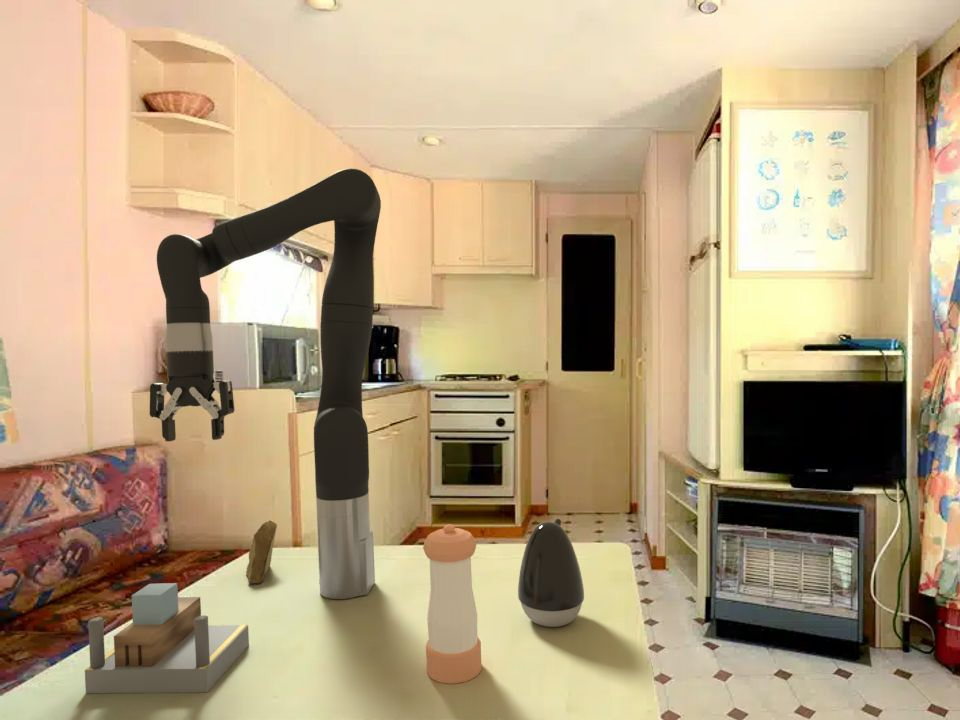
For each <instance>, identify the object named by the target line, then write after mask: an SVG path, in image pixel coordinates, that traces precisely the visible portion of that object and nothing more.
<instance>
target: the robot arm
mask: <svg viewBox="0 0 960 720" xmlns="http://www.w3.org/2000/svg"><path fill="white" fill-rule="evenodd" d="M381 203H382V201H381V196H380V194H379V191H378V188H377V186H376V184H375V182H374V180H373V178H372V177H371V176H370V175H369V174H367V172H365V171H364V170H361V169H358V168H353V167H351V168H344V169H342V170H338V171H335V173H333V174H330V175H328V176H327V177H325V178H323V179H322V180H320V181H317V183H315V184H313V185H311V186H309V187H306V188H305V189H304V190H302V191H299V192H297V193H295V194H292V195H291V196H289V197H287V198H284V199H282V200H280V201H278V202H275V203H273V204H270V205H267V206H265V207H262V208H260V209H258V210H254V211H252V212H247V213H246V214H242V215H239V216H237V217H234V218H230V219H227V220H225V221H223V222H220V223H219V224H217V225H215V226H214V227H213V229H212V231H211V233H208V234H206V235H204V236H202V237H198V238H192V237H190V236H188V235H185V234H181V233H172V234H169V235H167V236H166V237H164V238H163V239H162V240H161V241H160V243H159V245H158V248H157V252H156V268H157V271H158V275H159V280H160V284H161V288H162V291H163V294H164V299H165V318H166V319H165V321H166V327H165V329H166V331H165V355H166V357H165V358H166V375H167V378H168V379H167V380H168V381H167V382H166V383H163V382H155V383H151V384H150V386H149V416H150V417H151V418H157V419H159V420H160V421H161V434H162V435H161V436H162V438H163V439H164V441H165V442H173V441H175V440H176V438H177V437H176V436H177V435H176V420H175V419H174V417H175V416H176V414H177V413H178V411H179V410H180V409H182V408H184V407H202V409H204V410H206V412H207V413H208V414H209V415H210V416H211V421H210V422H211V423H210V424H211V438H212V439H211V440H213V441H217V440H221V439H222V436H224V435H225V417H227V416H228V415H231V414H233V413H234V412H235V400H234V393H233V391H234V389H233V382H232V381H231V380H220V381H219V382H218V381H217V382H216V381H215V380H214V379H215V378H214V373H215V371H214V369H215V368H214V364H215V363H214V348H213V347H214V345H213V343H214V342H213V341H214V340H213V331H212V326H211V309H210V306H211V305H210V298H209V297H208V295H207V293H205V291H204V290H203V288H202V283H201V279H202V278H205V277H208V276H210V275H213V274H214V273H216V272H218V271H221V270H222V269H224V268H226V267H228V266H230V265H231V264H233V263H235V262H236V261H241V260H243V259H246V258H249V257H252V256H255V255H258V254H261V253H263V252H266V251H268V250H270V249H273V248H275V247H277V246H278V245H280V244H282V243H283V242H285V241H287V240H288V239H290V238H291V237H294V236H295V235H297V234H298V233H300V232H302V231H304V230H306V229H308V228H312V227H314V226H317V225H320V224H323V223H324V224H325V223H328V222H332V221H333V223H334V224H333V225H334V226H333V227H334V243H333V245H334V246H333V248H334V249H333V256H332V261H331V263H330V267H329V270H328V274H327V277H326V280H325V284H324V288H323V292H322V296H321V297H322V298H321V309H320V310H321V311H320V331H319V332H320V334H319V335H320V337H319V338H320V356H321V357H320V358H321V370H322V371H321V372H322V375H321V376H322V378H321V389H320V395H319V402H318V407H317V412H316V417H315V421H314V425H313V447H314V448H313V450H314V451H313V452H314V453H313V454H314V470H315V471H314V472H315V473H314V475H315V476H314V478H315V498H316V499H315V500H316V501H315V502H316V529H317V551H318V552H317V554H318V574H319V575H318V582H319V584H318V585H319V594H320V595H321V596H323V597H324V598H326V599H330V600H331V599H332V600H345V599H353V598H356V597H360V596H368V595H369V593H370V591H371V590H372V588H373V586H374V585H375V583H376V576H375V575H376V571H375V569H376V568H375V545H374V532H373V531H372V530H371V526H370V525H371V524H370V522H371V520H370V519H371V518H370V498H369V497H370V495H369V494H370V493H369V492H370V491H369V489H370V488H369V483H370V482H369V480H370V461H369V460H370V457H369V454H370V453H369V449H370V448H369V433H368V432H369V431H368V426H367V423H366V420H365V419H364V415H363V391H362V390H363V377H364V371H365V367H366V362H367V359H368V356H369V355H368V354H369V350H370V349H369V348H370V344H371V340H372V339H371V338H372V333H373V332H372V330H373V320H374V319H373V316H374V296H375V295H374V293H375V292H374V290H375V289H374V287H375V286H374V285H375V281H374V280H375V279H374V277H375V276H374V252H375V251H374V250H375V243H376V238H377V237H376V236H377V231H378V230H377V229H378V226H379V225H378V224H379V219H380V215H381V208H382V206H381ZM215 390H216V392H217V393H218V394H219V400H220V404H219V402H218V401H217V399H216V398H215V396H214V395H213V394H214V392H215ZM167 392H168V394H169V395H170V398H169V399H168V400H167V402H166V403H165V395H166V394H167Z"/></svg>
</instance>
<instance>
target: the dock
mask: <svg viewBox="0 0 960 720" xmlns="http://www.w3.org/2000/svg"><path fill="white" fill-rule="evenodd" d="M87 625H88V644H89V666H88V667H87V668H86V669H84V682H85V694H140V693H141V694H147V693H148V694H150V693H151V694H152V693H153V694H154V693H155V694H156V693H160V694H161V693H163V694H164V693H165V694H166V693H168V694H169V693H171V694H172V693H208V692H209V691H210V690H211V689H212V688H213V687H214V686H215V684H217V682H218V681H219V680H220V679H221V678H222V677H223V675H225V673H226V672H227V671H228V670H229V669H230V667H232V665H233V664H234V663H235V662H236V661H237V659H238V658H239V657H241V655H242V654H243V653H244V651H245V650H246V649H247V648H249V646H250V637H249V635H250V633H249V625H248V624H243V623H242V624H232V625H231V624H225V625H224V624H223V625H216V624H215V625H209V616H208V615H201V616H199V617H196V618H195V619H194V627H195V630H194V631H193V632H191V633H190V634H189V635H188V636H187V637H186V638H185V639H183V640H182V641H181V642H180V643H179V644H178V645H177V646H176V647H174V648H173V649H172V650H171V651H170V652H169V653H168V654H166V655H165V656H164V657H163V658H162V659H161V660H160V661H159V662H157V663H156V664H155V665H154V666H153V667H142V664H141V665H140V666H139V667H129V665H127V666H126V667H115V653H114V648H112V649H111V650H109V651H108V652H107V653H106V654H105V635H104V633H105V632H104V617H102V616H98V617H94V618H91V619H89V620H88V623H87Z"/></svg>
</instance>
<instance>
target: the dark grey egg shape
mask: <svg viewBox="0 0 960 720" xmlns="http://www.w3.org/2000/svg"><path fill="white" fill-rule="evenodd" d="M561 525H562V520H561V519H559V518H556V519H555V520H554V521H544V522H543V521H542V522H541V523H539V524H537V525H536V526H535V527H534V528H533V529H532V531H531V533H530V535H529V537H528V540H527V542H526V545H525V548H524V551H523V556H522V559H521V564H520V568H519V569H520V570H519V575H518V585H517V586H518V587H517V598H518V600H519V602H520V604H521V608H522V610H523V612H524V613H525V615H526V616H527V617H528V619H529V620H531V621H532V622H533V623H535V624H536V625H539V626H542V627H545V628H546V627H547V628H557V627H562V626H563V627H564V626H565V625H568V624H570V623H571V622H573V621H574V620H575V619H576V618H577V616H578V615H579V613H580V611H581V608H582V605H583V602H584V599H585V589H584V583H583V577H582V572H581V569H580V565H579V564H580V563H579V561H578V557H577V554H576V551H575V549H574V546H573V543H572V541H571V539H570V537H569V536H568V534H567V532H566V530H565V529H564V528H563V527H562V526H561Z"/></svg>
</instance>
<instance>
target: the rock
mask: <svg viewBox="0 0 960 720" xmlns="http://www.w3.org/2000/svg"><path fill="white" fill-rule="evenodd" d="M277 528H278V524H277V523H276V522H273V521H272V520H268V521H265V522H263V523H262V524H261V526H260V528H258V529H257V531H256V533H254V534H253V537H252V543H251V545H250V549H249V552H248V564H247V567H246V571H245V573H246V576H247V579H248V584H261V583H263V580H264V577H265V575H267V573H268V571H269V569H270V568H271V564H272V563H271V562H272V558H273V557H272V556H273V548H274V543H275V537H276V534H277V533H276V532H277Z"/></svg>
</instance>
